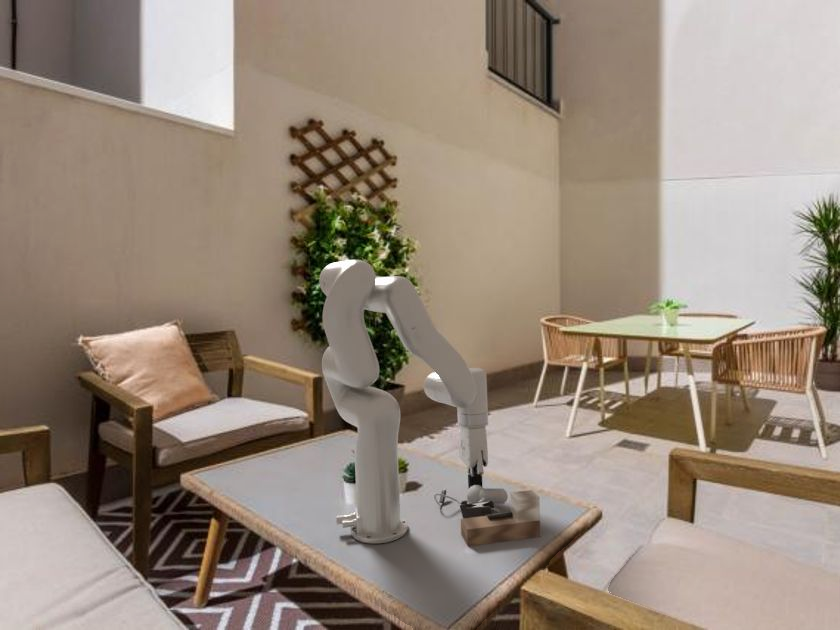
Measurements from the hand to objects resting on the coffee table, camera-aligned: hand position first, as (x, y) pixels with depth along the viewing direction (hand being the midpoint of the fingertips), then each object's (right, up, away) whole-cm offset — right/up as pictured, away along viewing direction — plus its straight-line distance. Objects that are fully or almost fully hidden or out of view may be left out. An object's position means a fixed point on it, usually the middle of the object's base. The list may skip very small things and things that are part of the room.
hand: (475, 490), depth 129 cm
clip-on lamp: (-3, -3, -6) cm, 7 cm away
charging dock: (+3, -3, -19) cm, 19 cm away
